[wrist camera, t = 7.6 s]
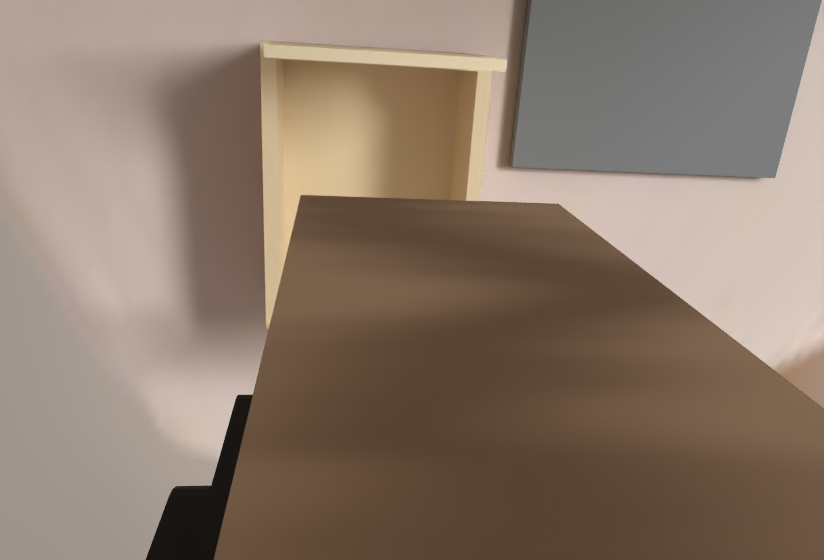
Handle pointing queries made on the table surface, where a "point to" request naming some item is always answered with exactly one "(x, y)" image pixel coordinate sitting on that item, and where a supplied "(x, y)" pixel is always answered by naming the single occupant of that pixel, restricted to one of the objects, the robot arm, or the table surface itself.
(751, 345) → the table surface
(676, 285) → the table surface
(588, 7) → the rubber mat
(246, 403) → the robot arm
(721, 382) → the walnut block
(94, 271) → the table surface
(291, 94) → the beige open box
